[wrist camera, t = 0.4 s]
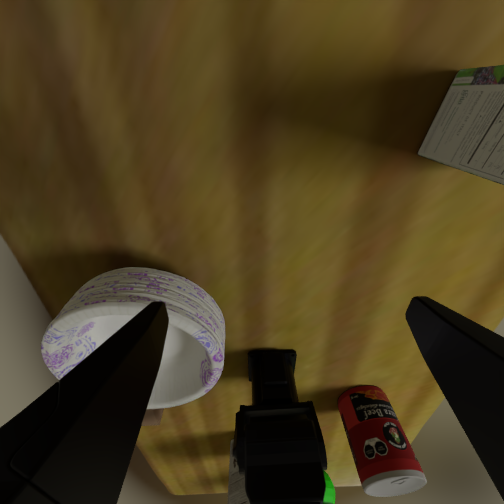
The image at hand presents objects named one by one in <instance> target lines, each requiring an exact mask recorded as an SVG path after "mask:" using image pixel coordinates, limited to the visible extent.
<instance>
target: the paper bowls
mask: <svg viewBox="0 0 504 504" xmlns="http://www.w3.org/2000/svg"><path fill="white" fill-rule="evenodd" d="M153 301H163V302H164V303H165V305H166V309H167V313H168V317H169V325H168V330H167V335H166V340H165V345H164V350H163V355H162V360H161V364H160V368H159V371H158V375H157V378H156V381H155V384H154V387H153V390H152V394H151V397H150V400H149V403H148V406H147V409H159V408H168V407H173V406H178V405H182V404H185V403H188V402H190V401H193V400H195V399H197V398H199V397H201V396H203V395H204V394H205V393H207V392H208V391H209V390H211V389H212V387H213V386H214V385H215V384H216V383H217V381H218V379H219V378H220V376H221V373H222V371H223V366H224V349H225V321H224V317H223V314H222V312H221V309H220V308H219V307H218V305H217V304H216V302H215V301H214V299H213V298H212V297H211V296H210V295H209V294H208V293H207V292H205V291H204V289H202V288H200V287H199V286H198V285H197V284H195V283H193V282H191V281H190V280H188V279H186V278H184V277H181V276H178V275H175V274H172V273H170V272H166V271H161V270H157V269H151V268H141V267H127V268H120V269H115V270H112V271H108V272H105V273H103V274H100V275H98V276H96V277H94V278H93V279H91V280H90V281H88V282H87V283H85V284H84V285H83V286H82V287H81V288H80V289H79V290H78V291H77V292H76V293H75V294H74V296H73V297H72V298H71V299H70V300H69V301H68V302H67V303H66V305H65V306H64V307H63V309H62V310H61V311H60V313H59V314H58V315H57V316H56V318H55V319H54V320H52V321H51V323H50V324H49V325H48V327H47V329H46V331H45V333H44V336H43V339H42V343H41V352H42V357H43V359H44V362H45V364H46V365H47V367H48V368H49V370H50V371H51V372H52V374H53V375H54V376H55V377H56V378H57V379H59V380H60V379H61V378H62V377H63V376H65V375H66V374H67V373H68V372H69V371H70V370H72V369H73V368H74V367H75V366H76V365H78V364H79V363H80V362H81V361H82V360H83V359H85V358H86V357H87V356H88V355H89V354H91V353H92V352H93V351H94V350H95V349H96V348H98V347H99V346H100V345H101V344H102V343H104V342H105V341H106V340H107V339H108V338H109V337H111V336H112V335H113V334H114V333H115V332H117V331H118V330H119V329H120V328H121V327H122V326H124V325H125V324H126V323H127V322H128V321H130V320H131V319H132V318H133V317H134V316H135V315H137V314H138V313H139V312H140V311H141V310H143V309H144V308H145V307H146V306H147V305H148V304H150V303H151V302H153Z"/></svg>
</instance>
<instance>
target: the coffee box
mask: <svg viewBox="0 0 504 504" xmlns="http://www.w3.org/2000/svg"><path fill="white" fill-rule="evenodd" d="M233 443H234V439H233V440H231V444H230V465H229V486H228V504H249V501H248V498H247V495H246V492H245V475H239V467H238V466H237V461H236V459H235V458H234V457H233V454H232V451H233Z"/></svg>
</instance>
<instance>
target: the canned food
mask: <svg viewBox="0 0 504 504" xmlns="http://www.w3.org/2000/svg"><path fill="white" fill-rule="evenodd" d="M338 408H339V412H340V415H341V418H342V422H343V425H344V428H345V432H346V435H347V438H348V442H349V445H350V448H351V452H352V455H353V458H354V462H355V465H356V468H357V472H358V475H359V478H360V481H361V484H362V487H363V489H364V492H365V493H366V494H368V495H371V496H377V497H388V496H397V495H403V494H407V493H410V492H414V491H416V490H418V489H420V488H422V487H423V486H424V485H425V484H426V483H427V480H426V478H425V475H424V473H423V471H422V469H421V466H420V464H419V462H418V460H417V458H416V456H415V454H414V452H413V450H412V448H411V445H410V443H409V441H408V439H407V437H406V435H405V433H404V431H403V429H402V427H401V425H400V423H399V421H398V419H397V417H396V414H395V412H394V410H393V408H392V406H391V404H390V402H389V400H388V398H387V396H386V394H385V393H384V392H383V391H382V390H381V389H380V388H378V387H375V386H370V385H365V386H358V387H354V388H351V389H349V390H347V391H346V392H344V393H343V394H342V395H341V396H340V397H339V399H338Z"/></svg>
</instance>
